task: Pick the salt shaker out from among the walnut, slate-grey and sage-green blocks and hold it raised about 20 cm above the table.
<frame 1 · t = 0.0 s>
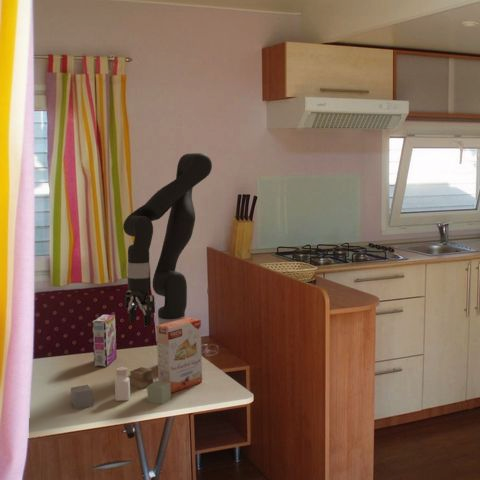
hand: (139, 323, 222), 17 cm above the table, tool pointing down, fingers open, 8 cm apart
candy bar box: (106, 363, 238), on the table
cracker box: (181, 386, 211), on the table
walnut block: (142, 385, 213), on the table
slate grey block: (82, 404, 197), on the table
salt shaker: (123, 399, 201), on the table
sage green block: (159, 400, 199), on the table
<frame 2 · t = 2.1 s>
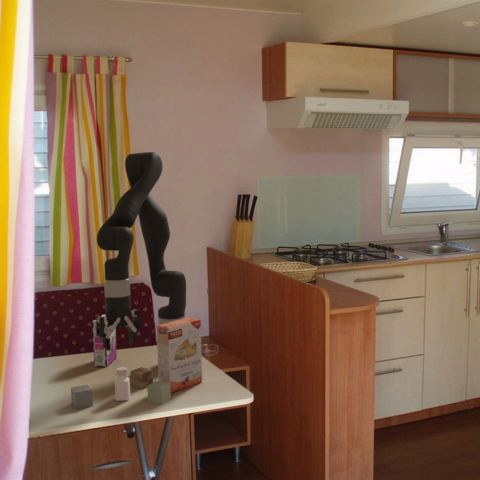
hand: (120, 347, 199), 16 cm above the table, tool pointing down, fingers open, 8 cm apart
nothing on the table moved.
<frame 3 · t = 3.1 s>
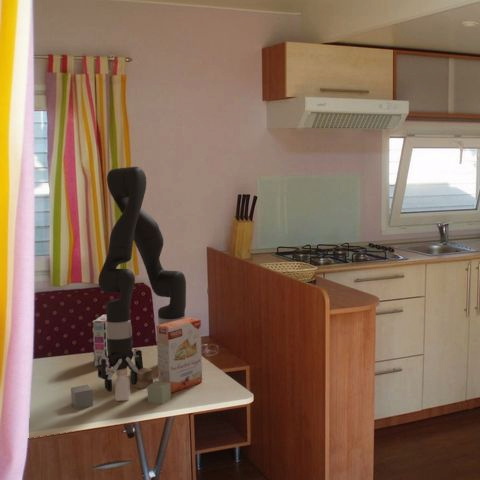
hand: (121, 387, 200), 4 cm above the table, tool pointing down, fingers open, 8 cm apart
nothing on the table moved.
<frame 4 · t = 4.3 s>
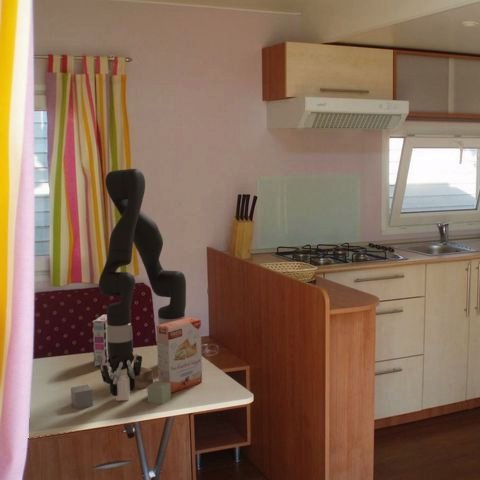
hand: (122, 392, 201), 2 cm above the table, tool pointing down, fingers closed on salt shaker, 5 cm apart
salt shaker: (123, 399, 201), on the table, touching gripper
everything else where it was.
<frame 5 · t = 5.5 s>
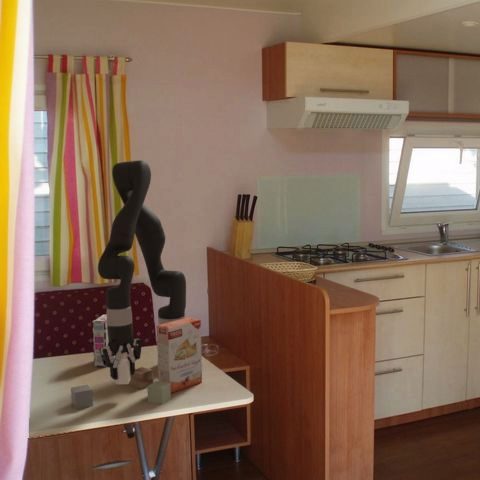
hand: (123, 376, 200), 7 cm above the table, tool pointing down, fingers closed on salt shaker, 5 cm apart
salt shaker: (123, 383, 201), point 5 cm above the table, touching gripper
everything else where it was.
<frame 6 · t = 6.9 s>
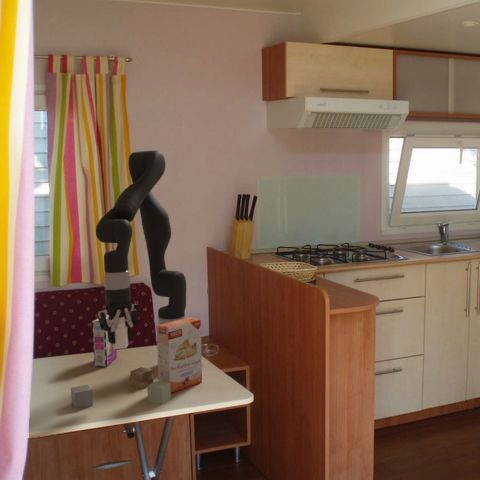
hand: (120, 341, 200), 18 cm above the table, tool pointing down, fingers closed on salt shaker, 5 cm apart
salt shaker: (121, 348, 200), point 15 cm above the table, touching gripper
everything else where it was.
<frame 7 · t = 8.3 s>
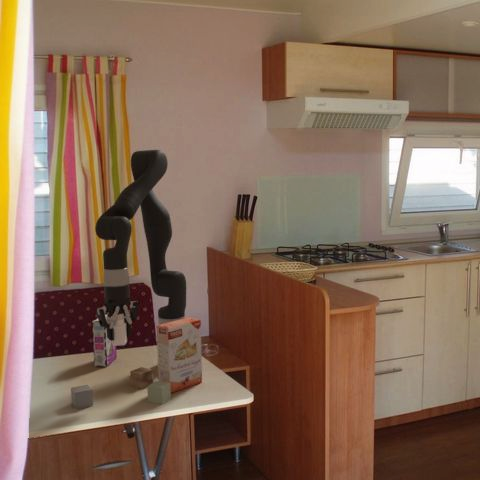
hand: (119, 337, 201), 18 cm above the table, tool pointing down, fingers closed on salt shaker, 5 cm apart
salt shaker: (119, 344, 201), point 16 cm above the table, touching gripper
everything else where it was.
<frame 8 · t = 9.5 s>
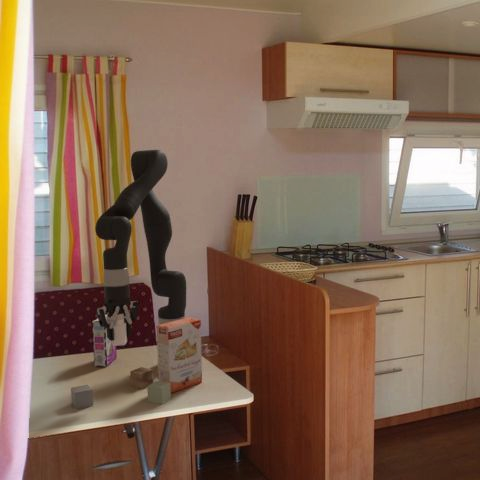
hand: (119, 337, 201), 18 cm above the table, tool pointing down, fingers closed on salt shaker, 5 cm apart
salt shaker: (119, 344, 201), point 16 cm above the table, touching gripper
everything else where it was.
at the end: the gripper is holding salt shaker; salt shaker point 16.1 cm above the table; sage green block moved 0.1 cm from its start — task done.
